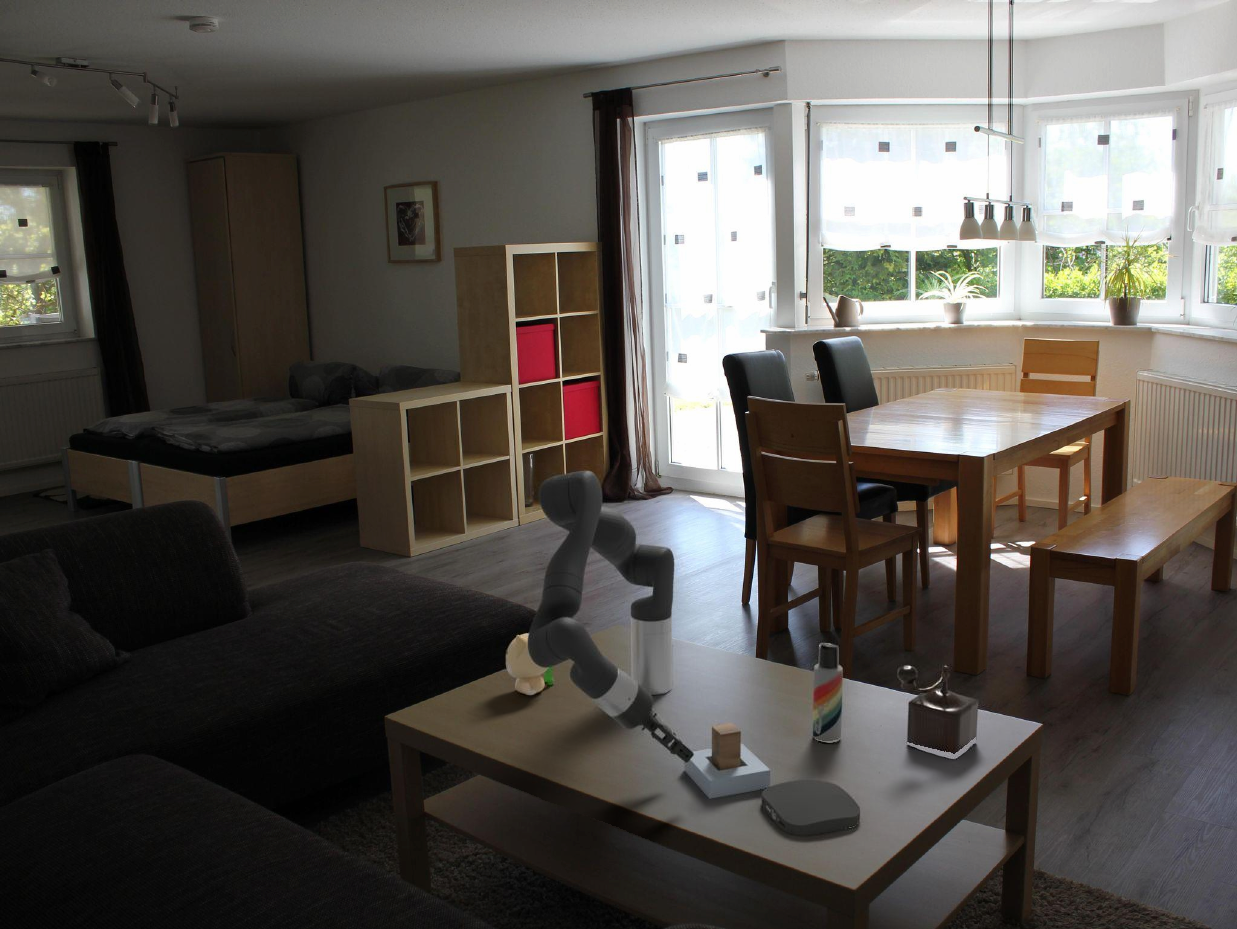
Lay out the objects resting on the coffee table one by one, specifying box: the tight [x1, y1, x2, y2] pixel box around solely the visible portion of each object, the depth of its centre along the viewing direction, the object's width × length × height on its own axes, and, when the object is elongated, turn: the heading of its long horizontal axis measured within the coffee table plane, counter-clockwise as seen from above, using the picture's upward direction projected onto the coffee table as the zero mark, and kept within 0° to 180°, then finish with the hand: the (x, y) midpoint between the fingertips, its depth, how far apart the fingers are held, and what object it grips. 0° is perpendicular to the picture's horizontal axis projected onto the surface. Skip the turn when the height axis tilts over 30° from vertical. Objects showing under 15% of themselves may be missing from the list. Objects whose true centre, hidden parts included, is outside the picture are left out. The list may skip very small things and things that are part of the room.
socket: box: [683, 742, 771, 800], centre depth 199 cm, size 12×12×4 cm
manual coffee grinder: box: [896, 664, 979, 754], centre depth 209 cm, size 16×11×18 cm
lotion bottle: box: [812, 642, 844, 741], centre depth 214 cm, size 6×6×20 cm
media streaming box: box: [761, 779, 861, 837], centre depth 187 cm, size 15×15×3 cm
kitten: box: [505, 632, 555, 696], centre depth 242 cm, size 15×10×15 cm
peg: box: [711, 722, 742, 771], centre depth 198 cm, size 4×4×10 cm
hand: (681, 748), depth 195 cm, fingers open, 8 cm apart
